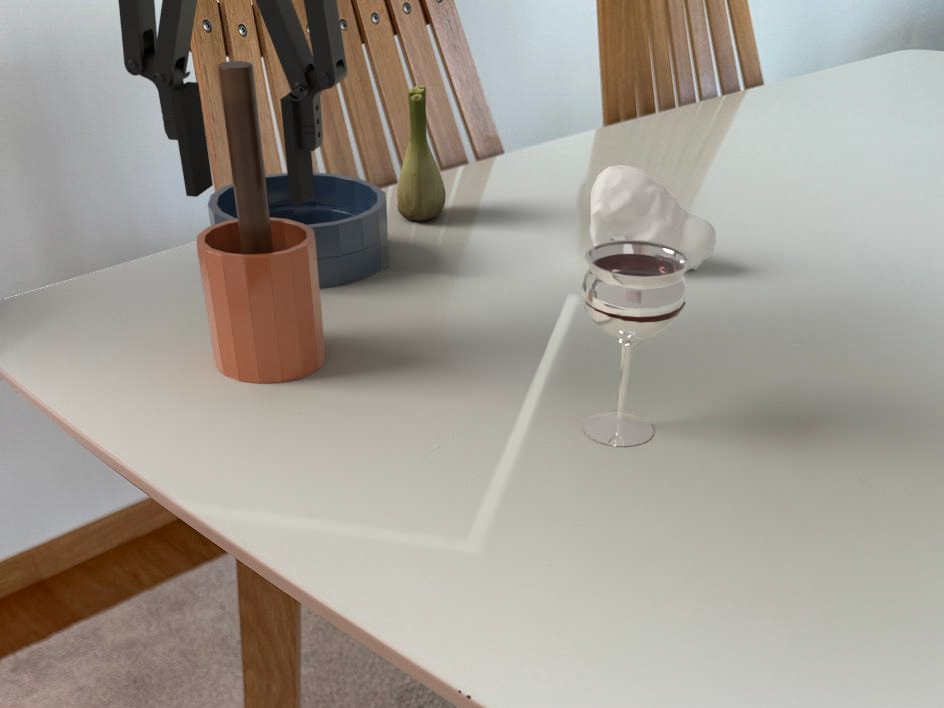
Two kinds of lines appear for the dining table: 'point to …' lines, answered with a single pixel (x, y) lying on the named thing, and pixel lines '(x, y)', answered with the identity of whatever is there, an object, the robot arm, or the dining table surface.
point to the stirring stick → (246, 156)
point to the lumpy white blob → (646, 214)
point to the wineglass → (631, 315)
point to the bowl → (327, 222)
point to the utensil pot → (263, 303)
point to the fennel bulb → (419, 167)
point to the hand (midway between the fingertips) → (250, 194)
